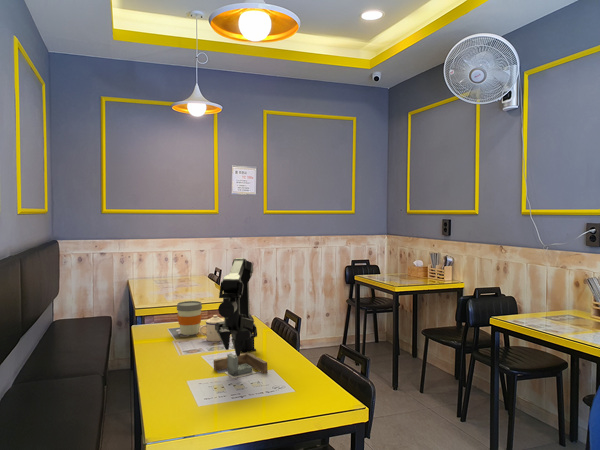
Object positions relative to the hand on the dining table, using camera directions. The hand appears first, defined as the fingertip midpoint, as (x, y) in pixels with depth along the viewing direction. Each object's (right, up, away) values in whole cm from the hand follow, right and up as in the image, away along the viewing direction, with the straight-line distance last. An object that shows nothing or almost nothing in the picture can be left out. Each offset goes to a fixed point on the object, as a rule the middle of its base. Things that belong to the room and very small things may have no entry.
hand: (232, 352), depth 174 cm
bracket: (+2, -8, +2) cm, 9 cm away
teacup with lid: (-17, -7, +48) cm, 52 cm away
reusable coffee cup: (-31, -7, +62) cm, 69 cm away
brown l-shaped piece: (+3, -8, +4) cm, 10 cm away
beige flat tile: (+3, -8, +2) cm, 9 cm away
